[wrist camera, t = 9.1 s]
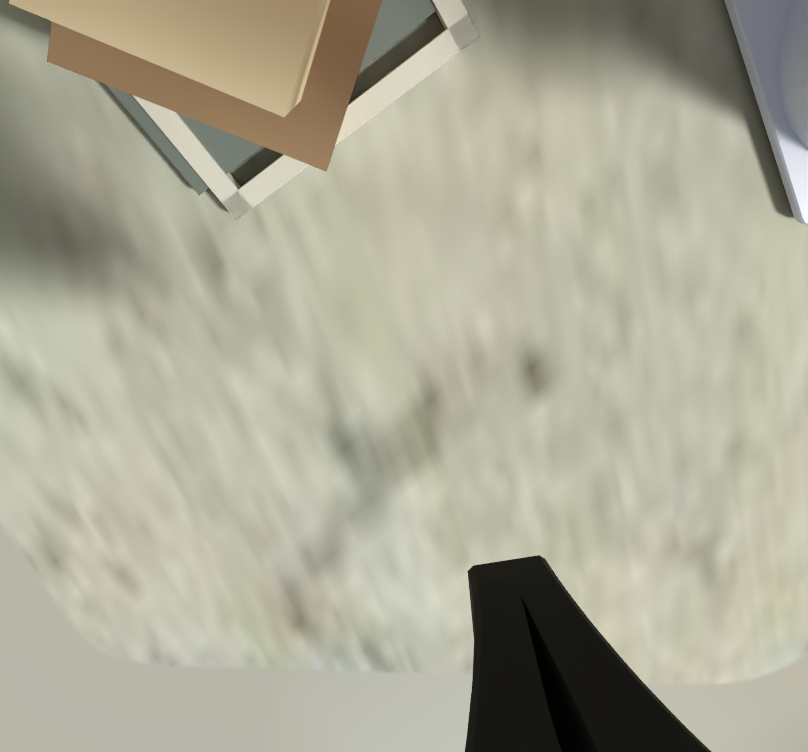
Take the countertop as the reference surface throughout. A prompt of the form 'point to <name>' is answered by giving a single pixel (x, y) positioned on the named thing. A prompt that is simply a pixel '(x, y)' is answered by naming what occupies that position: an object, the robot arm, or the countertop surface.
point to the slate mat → (399, 13)
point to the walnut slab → (291, 135)
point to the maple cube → (208, 40)
